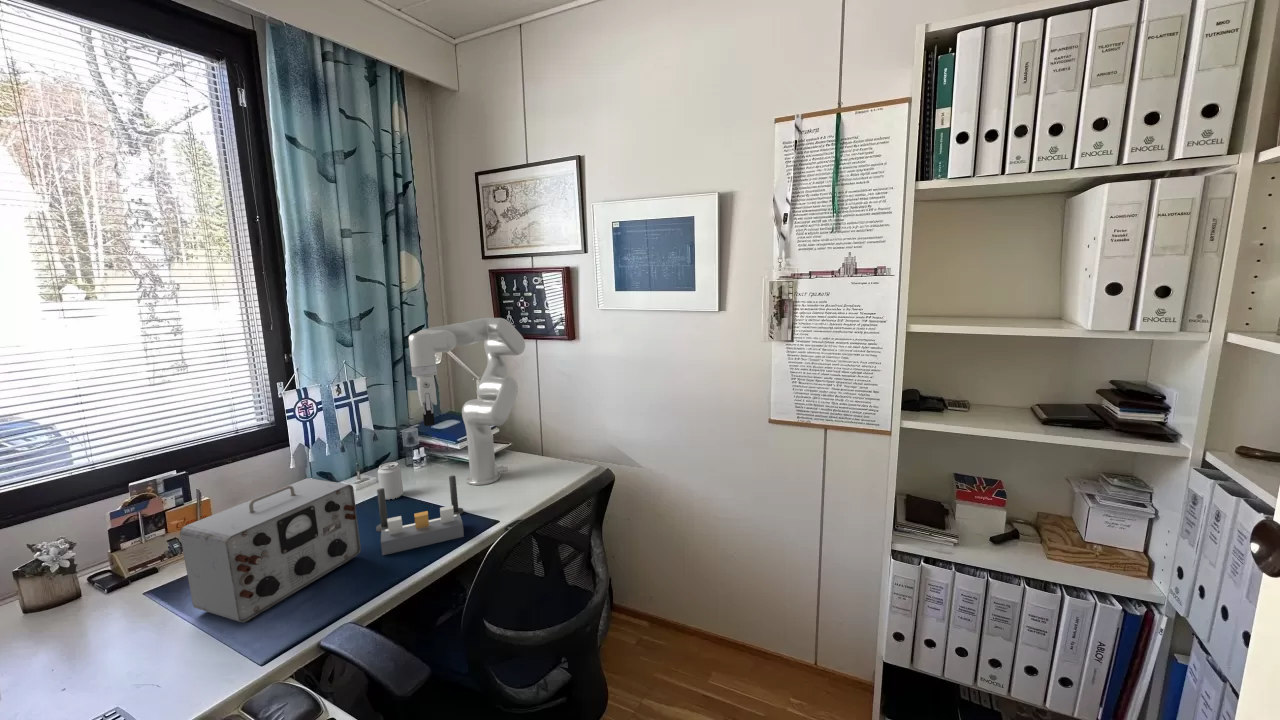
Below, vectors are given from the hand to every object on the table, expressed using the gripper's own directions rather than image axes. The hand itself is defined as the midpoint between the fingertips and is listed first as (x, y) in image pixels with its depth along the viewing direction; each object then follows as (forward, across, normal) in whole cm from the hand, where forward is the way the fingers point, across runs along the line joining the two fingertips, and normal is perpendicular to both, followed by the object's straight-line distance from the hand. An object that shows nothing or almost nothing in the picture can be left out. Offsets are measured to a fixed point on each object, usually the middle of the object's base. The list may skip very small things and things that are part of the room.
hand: (429, 424), depth 169 cm
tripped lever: (+25, -22, +6) cm, 34 cm away
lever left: (+25, -22, +12) cm, 36 cm away
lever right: (+25, -22, -2) cm, 33 cm away
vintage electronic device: (+29, -30, +38) cm, 57 cm away
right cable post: (+29, -8, -5) cm, 31 cm away
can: (+29, +18, +14) cm, 37 cm away
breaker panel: (+29, -22, +6) cm, 37 cm away
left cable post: (+29, -8, +16) cm, 34 cm away
